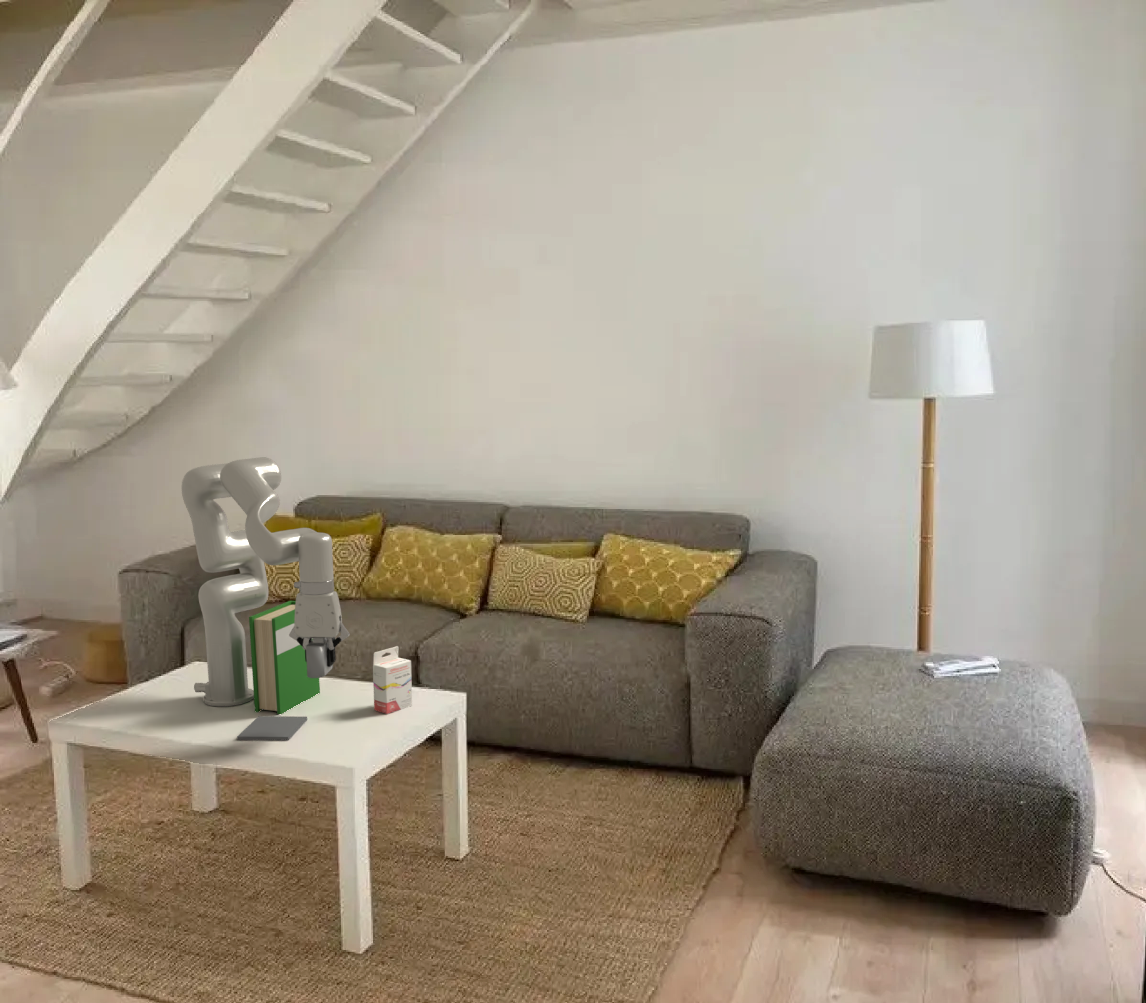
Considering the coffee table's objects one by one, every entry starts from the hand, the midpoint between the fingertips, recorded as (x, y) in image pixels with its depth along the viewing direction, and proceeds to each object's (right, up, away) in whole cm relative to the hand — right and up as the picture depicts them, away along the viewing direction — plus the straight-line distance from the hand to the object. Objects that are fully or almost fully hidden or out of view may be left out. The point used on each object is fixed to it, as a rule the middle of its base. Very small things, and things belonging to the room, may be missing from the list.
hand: (320, 664), depth 263 cm
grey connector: (0, -2, 0) cm, 2 cm away
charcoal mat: (-12, -16, +5) cm, 21 cm away
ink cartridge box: (+14, -14, +19) cm, 27 cm away
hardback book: (-14, -13, +25) cm, 32 cm away
